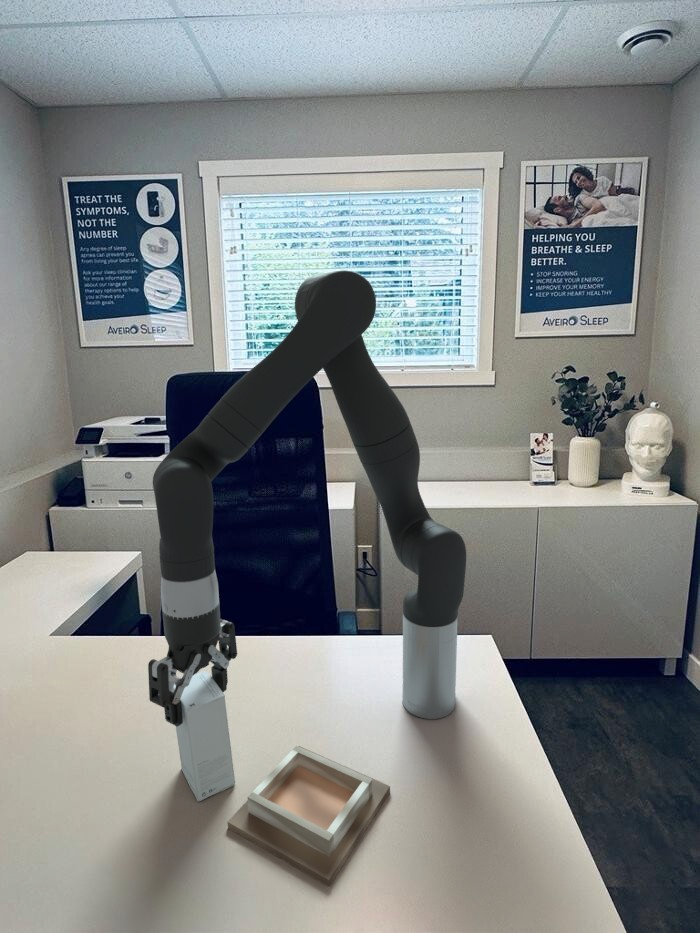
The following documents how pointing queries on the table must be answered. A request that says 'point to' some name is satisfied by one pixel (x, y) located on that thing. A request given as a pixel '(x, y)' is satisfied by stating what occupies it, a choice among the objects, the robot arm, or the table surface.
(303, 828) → the holder board
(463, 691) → the table surface
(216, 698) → the skincare box
